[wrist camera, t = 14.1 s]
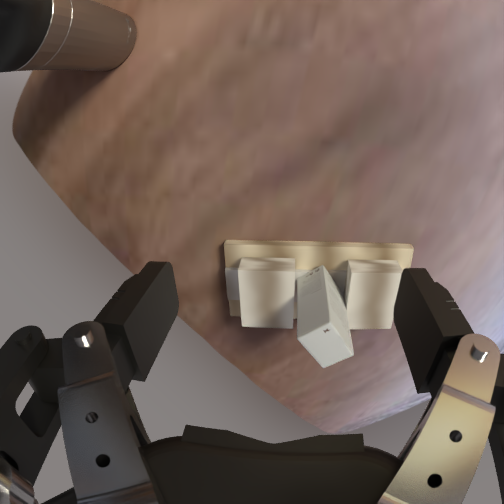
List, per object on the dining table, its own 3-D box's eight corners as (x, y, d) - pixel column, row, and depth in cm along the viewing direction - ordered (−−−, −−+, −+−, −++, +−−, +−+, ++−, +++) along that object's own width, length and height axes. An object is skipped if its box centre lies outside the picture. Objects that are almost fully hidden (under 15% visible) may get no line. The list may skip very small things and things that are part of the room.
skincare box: (295, 278, 42) (294, 337, 32) (323, 263, 41) (330, 320, 30) (318, 308, 44) (322, 370, 34) (344, 295, 43) (356, 355, 32)
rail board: (232, 310, 49) (225, 333, 44) (225, 239, 44) (217, 258, 39) (395, 312, 46) (404, 335, 41) (410, 244, 40) (423, 263, 35)
